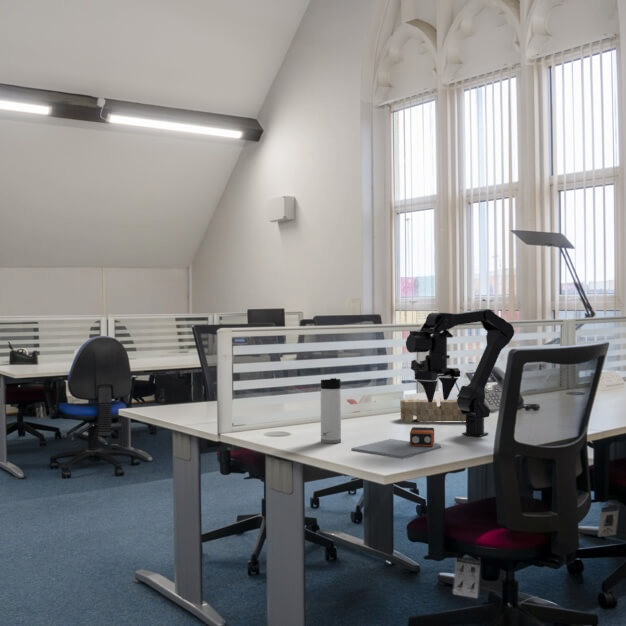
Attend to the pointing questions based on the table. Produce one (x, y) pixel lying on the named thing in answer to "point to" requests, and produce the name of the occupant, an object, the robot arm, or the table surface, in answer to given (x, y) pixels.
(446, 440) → the table surface
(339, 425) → the travel mug
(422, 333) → the robot arm
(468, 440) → the table surface
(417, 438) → the battery
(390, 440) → the mat
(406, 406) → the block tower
